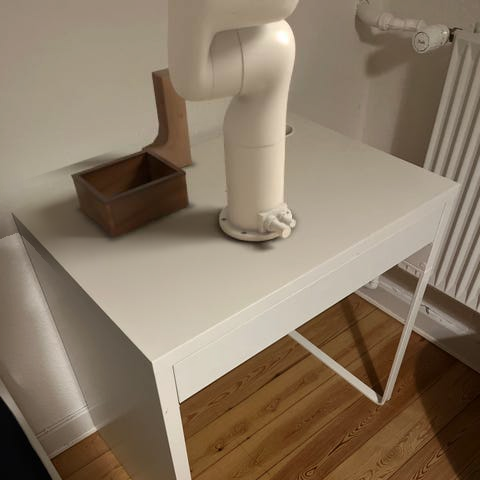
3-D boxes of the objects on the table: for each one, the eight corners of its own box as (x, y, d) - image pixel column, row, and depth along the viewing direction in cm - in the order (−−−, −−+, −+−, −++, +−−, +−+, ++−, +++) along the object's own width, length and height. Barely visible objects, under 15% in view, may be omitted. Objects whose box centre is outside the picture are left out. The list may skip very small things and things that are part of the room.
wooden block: (153, 177, 101) (138, 83, 89) (144, 168, 104) (128, 76, 92) (192, 164, 105) (183, 72, 93) (182, 156, 108) (171, 66, 95)
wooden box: (189, 206, 93) (186, 171, 88) (113, 238, 86) (104, 202, 81) (153, 181, 100) (148, 148, 96) (80, 208, 93) (70, 174, 89)
